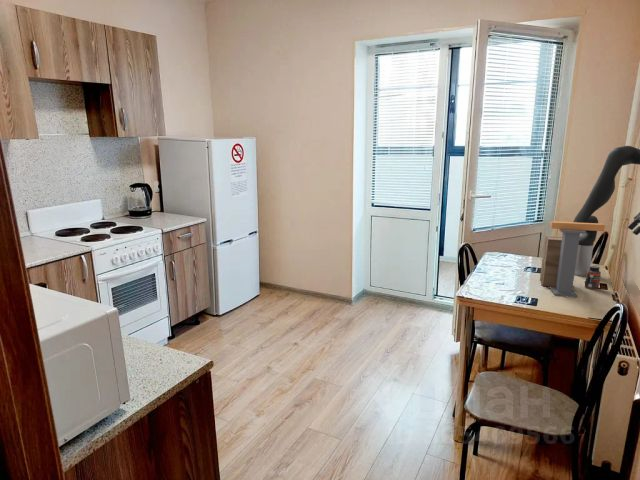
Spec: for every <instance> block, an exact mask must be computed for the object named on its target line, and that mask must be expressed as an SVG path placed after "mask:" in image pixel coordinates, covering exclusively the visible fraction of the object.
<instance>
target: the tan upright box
mask: <svg viewBox="0 0 640 480" xmlns="http://www.w3.org/2000/svg"><path fill="white" fill-rule="evenodd" d="M561 242H562V235H549V234H548V235H547V234H546V235H545V234H544V241H543V250H542V259H541V267H540V275H539V281H540V283H541V286H542V287H547V288H548V287H549V288H550V287H556V282H557V274H558V266H559V258H560V250H561Z"/></svg>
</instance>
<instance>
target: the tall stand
mask: <svg viewBox="0 0 640 480" xmlns="http://www.w3.org/2000/svg"><path fill="white" fill-rule="evenodd" d="M558 230H559V231H560V232H561V233H562V235H561V236H562V242H561V250H560V258H559V266H558V274H557V282H556V287H549V288H550V291H551V292H552V294H553V296H559V297H567V296H568V298H569V297H570V298H578V294H577V293H576V291H575V290H574V288H573V287H574V280H575V267H576V259H577V252H578V245H579V237H580V236H581V235H582V234H586V231H585V230H570V229H558Z"/></svg>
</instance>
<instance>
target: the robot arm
mask: <svg viewBox="0 0 640 480" xmlns="http://www.w3.org/2000/svg"><path fill="white" fill-rule="evenodd" d="M628 165H640V149H639V148H636V147H634V146H632V145H623V146H622V145H621V146H618V147H614V148H613V149H611V150H610V151H609V153H608V154H607V157H606V160H605V163H604V165H603V168H602V169H601V172H600V174H599V176H598V178H597V180H596V182H595V183H594V184H593V185H594V186H593V187H592V189H591V191H590V193H589V195H588V197H587V199H586V200H585V203H584V204H583V205H582V206H581V207H582V208H581V209H580V210H579V211H578V213H576V216H575V217H574V219H573V221H572V222H577V223H598V224H599V220H598V217H597V216H595V215H593V214H594V213H595V212H596V211H598V210H599V209H600V208H602V207H603V206H604V205H606V204H607V203H608V202H609V200H610V199H611V197H612V196H613V194H614V191H615V189H616V177H617V174H618V173H619V171H620V169H621V168H622V167H624V166H628ZM627 228H628V229H629V230H630V231H632V234H634V235H636V236H638V235H639V234H640V211H639V212H638V213H637V214H636V215H635V216H634V217H633V221H632V222H631V223H630V224H628V226H627ZM585 231H586V234H580V237H579V245H578V252H577V259H576V267H575V274H574V276H584V277H586V275H587V271H588V270H589V269H590V266H592V265H591V264H592V257H593V250H594V242H595V241H596V239H597V234H598V231H590V230H585Z"/></svg>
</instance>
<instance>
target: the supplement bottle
mask: <svg viewBox="0 0 640 480" xmlns="http://www.w3.org/2000/svg"><path fill="white" fill-rule="evenodd" d="M601 273H602V272H601V271H600V267H599V266H596V265H590V269H589V270H588V271H587V275H586V276H585V282H584V287H585V288H586V289H589V290H598V289H599V286H600V281H601Z"/></svg>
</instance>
